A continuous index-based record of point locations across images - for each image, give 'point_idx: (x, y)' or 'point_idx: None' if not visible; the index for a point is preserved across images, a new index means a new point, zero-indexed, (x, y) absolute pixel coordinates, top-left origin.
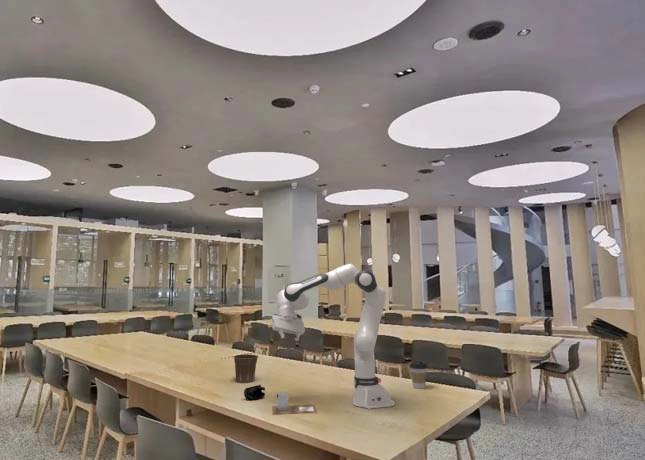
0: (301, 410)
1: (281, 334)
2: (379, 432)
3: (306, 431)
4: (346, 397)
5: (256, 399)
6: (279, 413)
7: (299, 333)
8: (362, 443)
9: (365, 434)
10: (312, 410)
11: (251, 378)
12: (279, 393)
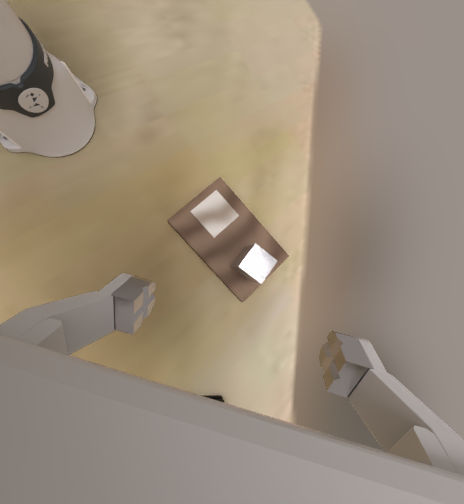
0: (231, 216)
1: (383, 395)
2: (229, 29)
3: (302, 151)
4: (19, 197)
5: (207, 397)
6: (273, 248)
7: (17, 324)
8: (290, 42)
9: (252, 50)
10: (216, 193)
11: None
12: (261, 273)
